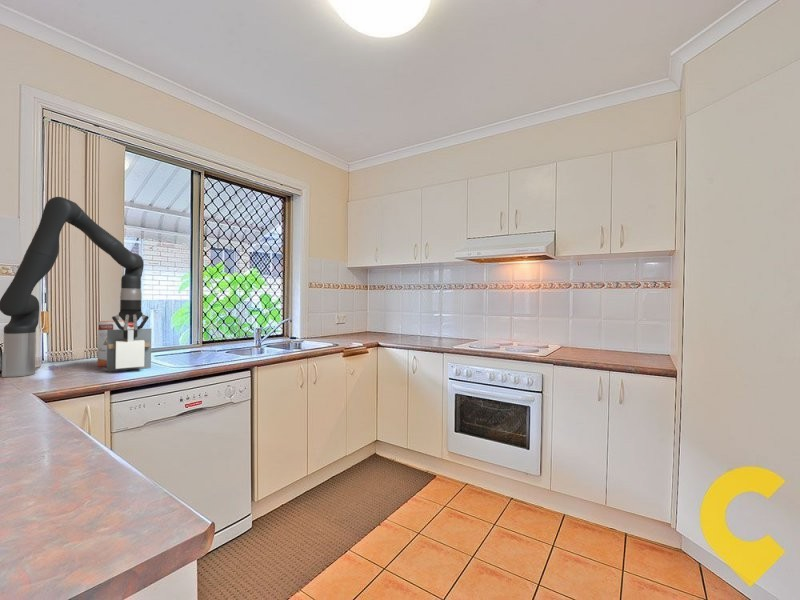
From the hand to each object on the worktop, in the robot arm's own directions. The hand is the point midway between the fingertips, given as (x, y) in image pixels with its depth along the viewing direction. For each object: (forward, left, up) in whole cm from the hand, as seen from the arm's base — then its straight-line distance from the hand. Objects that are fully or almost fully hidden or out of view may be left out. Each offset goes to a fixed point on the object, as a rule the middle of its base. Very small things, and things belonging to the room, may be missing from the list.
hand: (130, 338), depth 165 cm
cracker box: (-4, +21, -15) cm, 26 cm away
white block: (0, +1, -12) cm, 12 cm away
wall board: (0, +6, -14) cm, 15 cm away
